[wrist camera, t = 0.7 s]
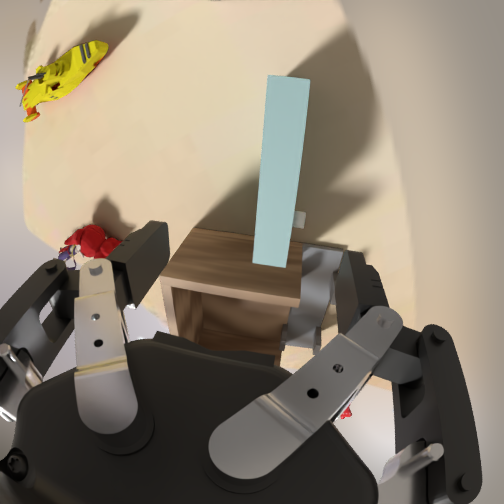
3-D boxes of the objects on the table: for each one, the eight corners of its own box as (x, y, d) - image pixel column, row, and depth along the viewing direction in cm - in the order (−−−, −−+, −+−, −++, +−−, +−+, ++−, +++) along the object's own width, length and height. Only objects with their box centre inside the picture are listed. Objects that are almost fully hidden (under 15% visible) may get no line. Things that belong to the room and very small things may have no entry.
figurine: (56, 232, 43) (104, 205, 39) (83, 262, 49) (134, 243, 44) (39, 256, 39) (85, 232, 34) (69, 287, 44) (120, 272, 39)
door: (279, 81, 27) (267, 74, 17) (317, 86, 27) (327, 82, 17) (268, 209, 36) (252, 262, 26) (301, 214, 35) (298, 269, 25)
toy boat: (37, 86, 29) (-9, 97, 21) (115, 27, 25) (64, 21, 16) (44, 118, 33) (-1, 133, 24) (124, 65, 28) (73, 66, 19)
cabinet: (193, 227, 39) (159, 275, 30) (343, 249, 37) (353, 306, 27) (199, 326, 50) (179, 376, 40) (313, 345, 48) (311, 399, 38)
